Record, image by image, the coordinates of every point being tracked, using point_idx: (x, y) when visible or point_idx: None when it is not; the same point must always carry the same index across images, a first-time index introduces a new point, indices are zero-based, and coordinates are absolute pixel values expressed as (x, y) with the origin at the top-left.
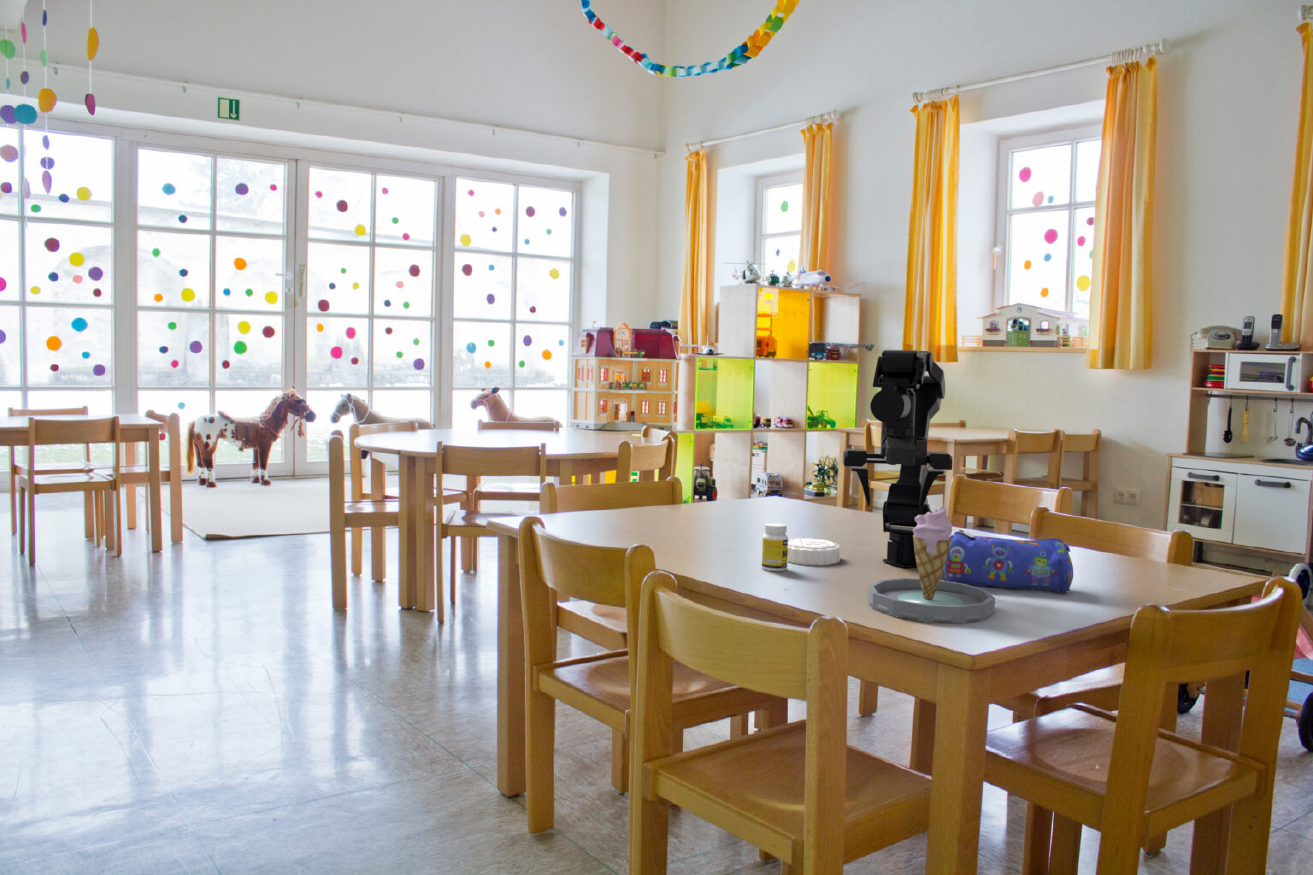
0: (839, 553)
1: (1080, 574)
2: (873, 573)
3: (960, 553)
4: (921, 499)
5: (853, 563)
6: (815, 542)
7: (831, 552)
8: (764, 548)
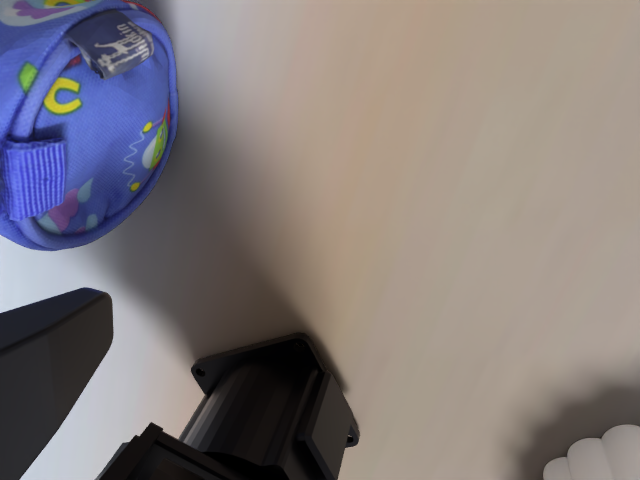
0: None
1: None
2: (479, 252)
3: (29, 7)
4: (26, 330)
5: (495, 429)
6: None
7: (627, 470)
8: None
